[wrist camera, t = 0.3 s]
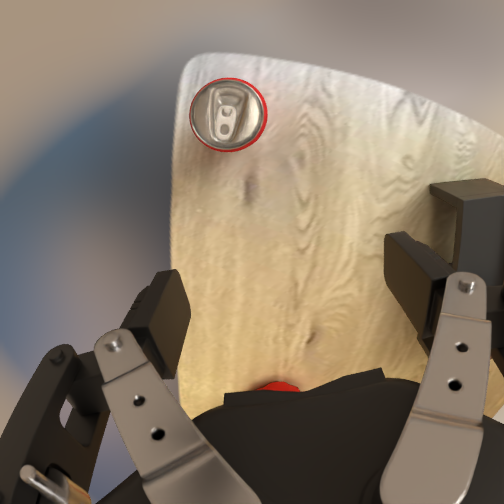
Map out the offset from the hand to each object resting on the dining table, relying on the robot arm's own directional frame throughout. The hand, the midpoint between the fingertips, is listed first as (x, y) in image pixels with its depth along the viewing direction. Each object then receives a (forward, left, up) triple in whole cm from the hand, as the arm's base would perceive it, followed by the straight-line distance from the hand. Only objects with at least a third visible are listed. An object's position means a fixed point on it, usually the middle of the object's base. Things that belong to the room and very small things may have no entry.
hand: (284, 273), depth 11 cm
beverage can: (-6, -2, -22) cm, 23 cm away
